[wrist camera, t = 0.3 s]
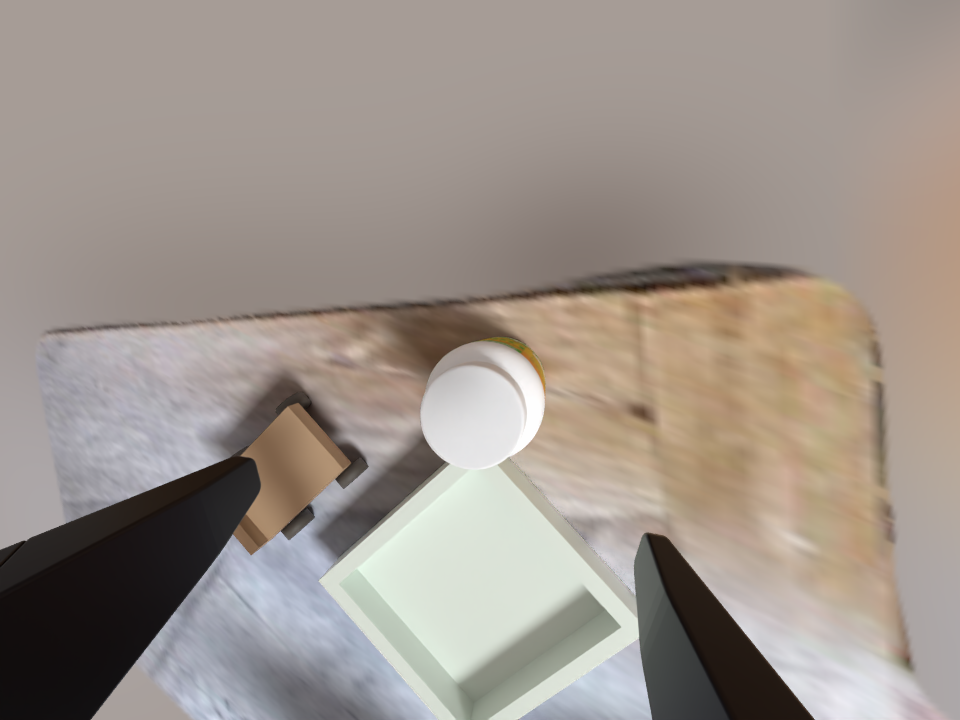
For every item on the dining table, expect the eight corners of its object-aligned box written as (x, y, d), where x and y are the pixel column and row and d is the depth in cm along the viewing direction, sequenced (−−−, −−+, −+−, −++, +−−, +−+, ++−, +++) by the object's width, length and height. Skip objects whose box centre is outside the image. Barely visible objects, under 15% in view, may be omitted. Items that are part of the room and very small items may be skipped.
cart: (300, 530, 27) (259, 565, 23) (240, 461, 27) (189, 483, 23) (375, 460, 25) (345, 484, 22) (310, 387, 26) (269, 399, 22)
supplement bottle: (536, 328, 23) (530, 332, 13) (552, 415, 23) (557, 480, 14) (451, 344, 24) (387, 358, 14) (467, 428, 24) (416, 496, 15)
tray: (475, 712, 26) (467, 753, 23) (339, 557, 27) (318, 580, 24) (637, 598, 23) (648, 631, 21) (482, 429, 24) (475, 441, 21)
